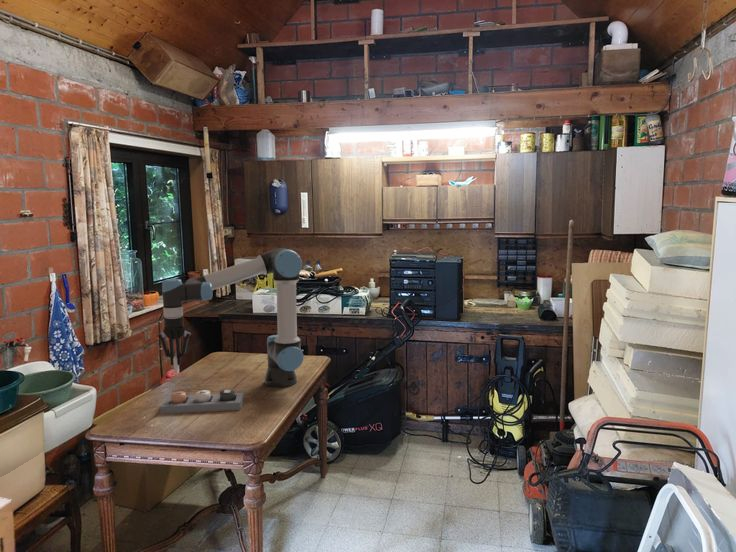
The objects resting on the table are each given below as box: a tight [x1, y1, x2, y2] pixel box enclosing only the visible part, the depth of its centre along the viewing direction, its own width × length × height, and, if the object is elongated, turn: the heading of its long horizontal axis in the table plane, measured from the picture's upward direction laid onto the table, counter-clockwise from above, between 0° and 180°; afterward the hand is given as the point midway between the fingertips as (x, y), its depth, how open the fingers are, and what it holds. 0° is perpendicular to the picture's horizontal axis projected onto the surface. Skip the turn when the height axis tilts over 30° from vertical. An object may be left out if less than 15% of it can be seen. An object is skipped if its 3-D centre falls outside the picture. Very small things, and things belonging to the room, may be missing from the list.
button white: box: [194, 389, 211, 403], centre depth 226 cm, size 6×6×4 cm
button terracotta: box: [170, 390, 187, 404], centre depth 224 cm, size 6×6×4 cm
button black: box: [219, 388, 236, 401], centre depth 227 cm, size 6×6×4 cm
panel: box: [159, 392, 245, 415], centre depth 226 cm, size 32×12×3 cm, turn 97°
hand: (176, 372), depth 223 cm, fingers closed
